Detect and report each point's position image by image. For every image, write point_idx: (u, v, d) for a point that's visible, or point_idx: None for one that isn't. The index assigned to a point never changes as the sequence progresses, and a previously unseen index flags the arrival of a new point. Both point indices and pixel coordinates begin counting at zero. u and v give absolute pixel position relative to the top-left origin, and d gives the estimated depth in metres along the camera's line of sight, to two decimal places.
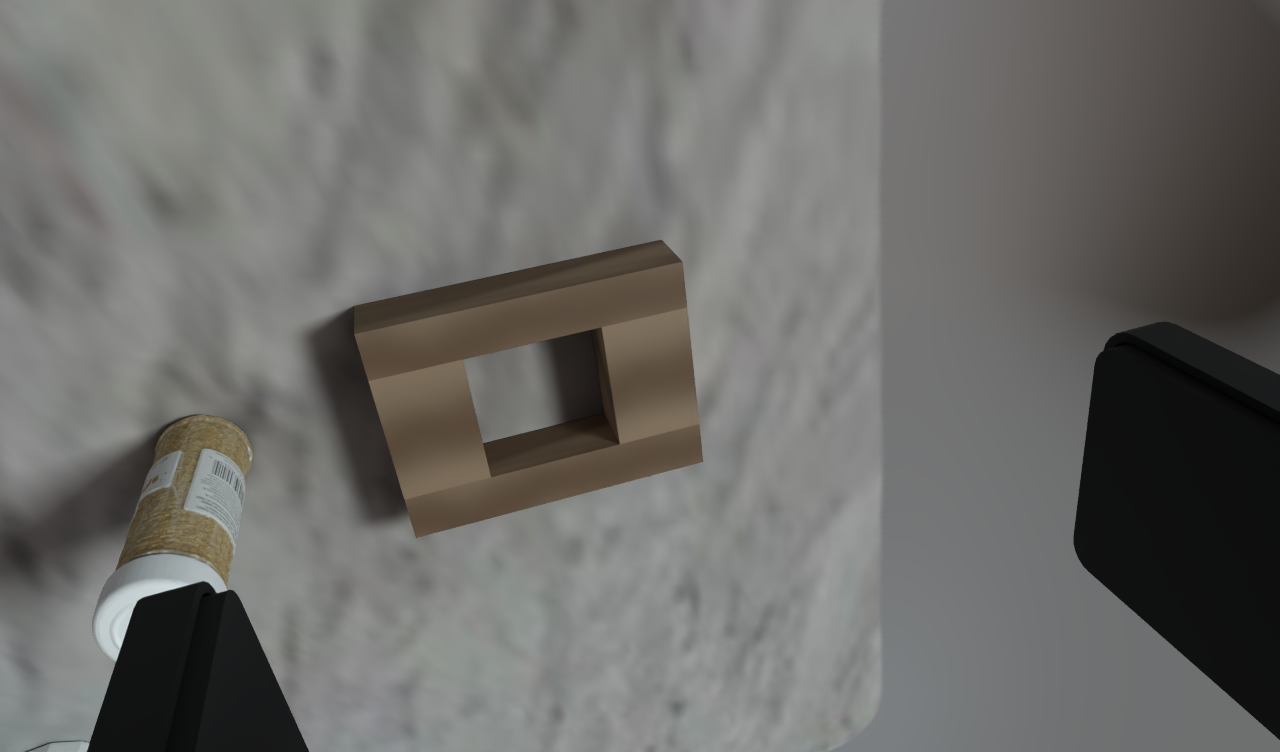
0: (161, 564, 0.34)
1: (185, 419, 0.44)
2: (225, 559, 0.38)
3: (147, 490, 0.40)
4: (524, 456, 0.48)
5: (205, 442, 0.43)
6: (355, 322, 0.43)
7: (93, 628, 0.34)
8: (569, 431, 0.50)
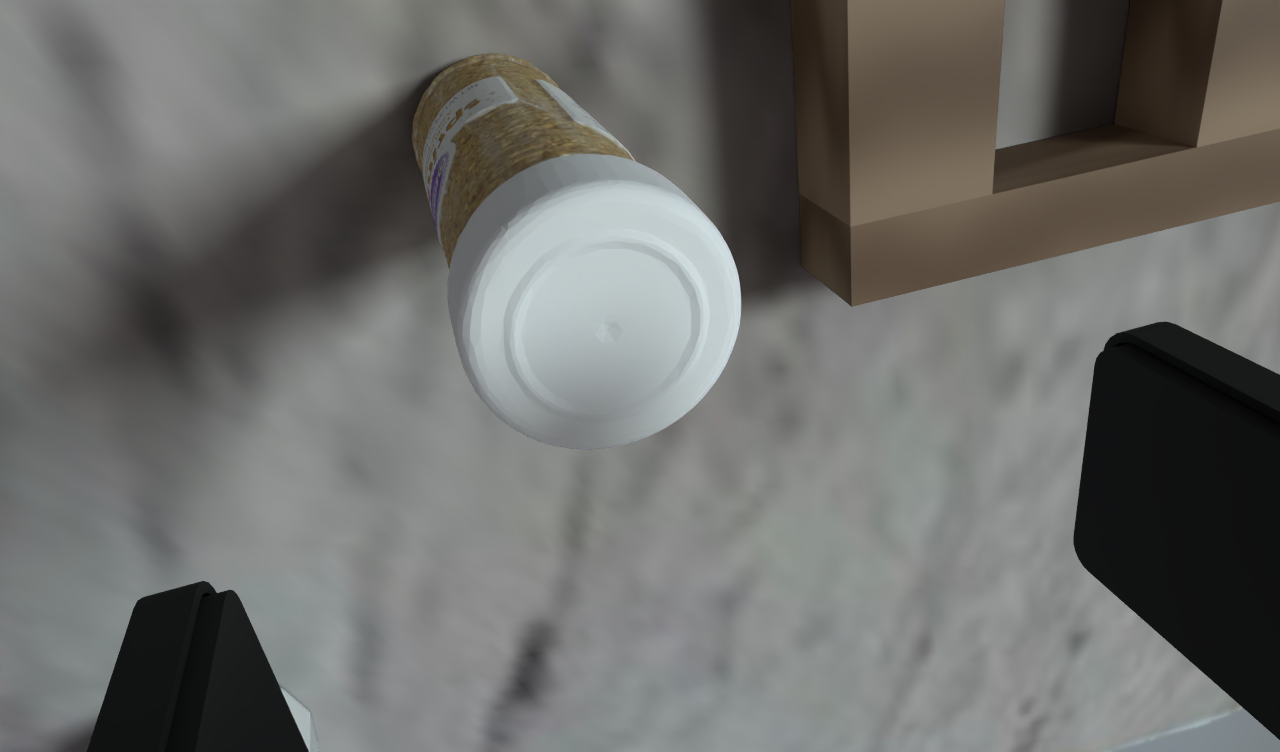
0: (617, 165, 0.14)
1: (473, 57, 0.24)
2: None
3: (464, 118, 0.19)
4: (1027, 170, 0.28)
5: (532, 77, 0.22)
6: None
7: (465, 311, 0.13)
8: (1075, 143, 0.29)
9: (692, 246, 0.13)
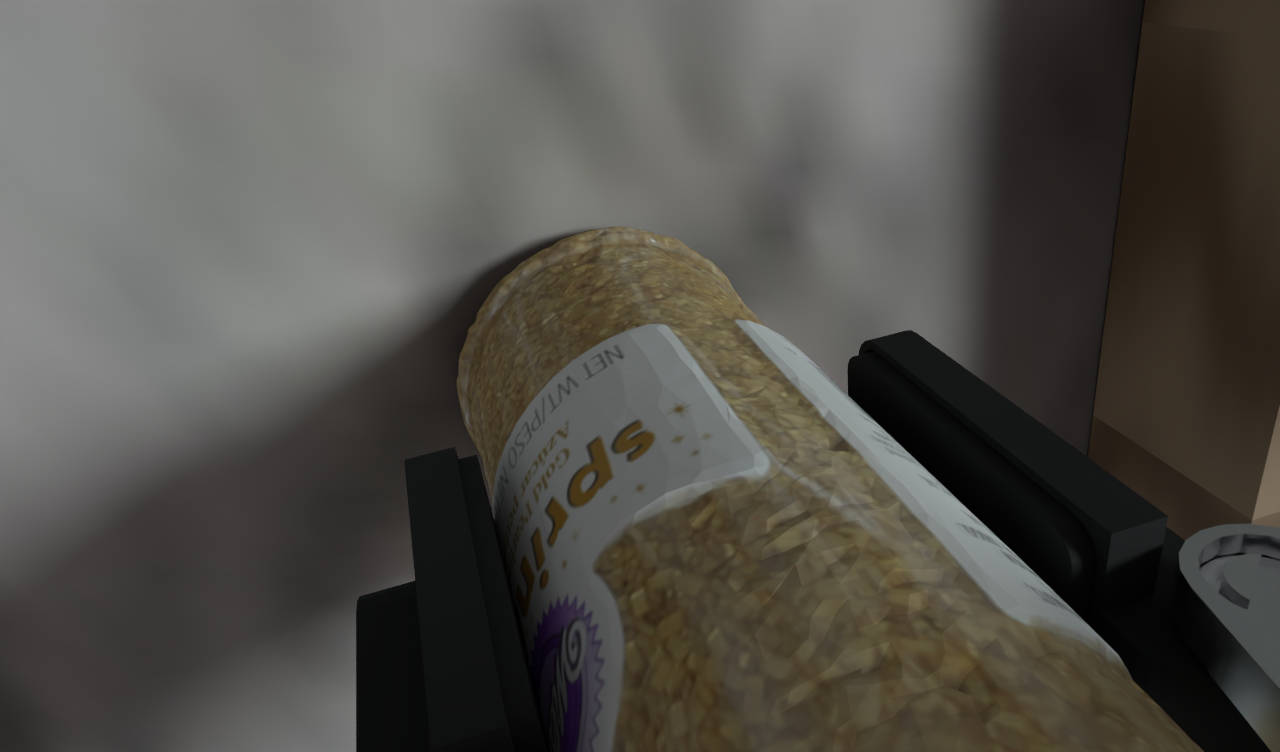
0: None
1: (577, 238, 0.12)
2: None
3: (624, 496, 0.07)
4: None
5: (716, 303, 0.11)
6: None
7: None
8: None
9: None
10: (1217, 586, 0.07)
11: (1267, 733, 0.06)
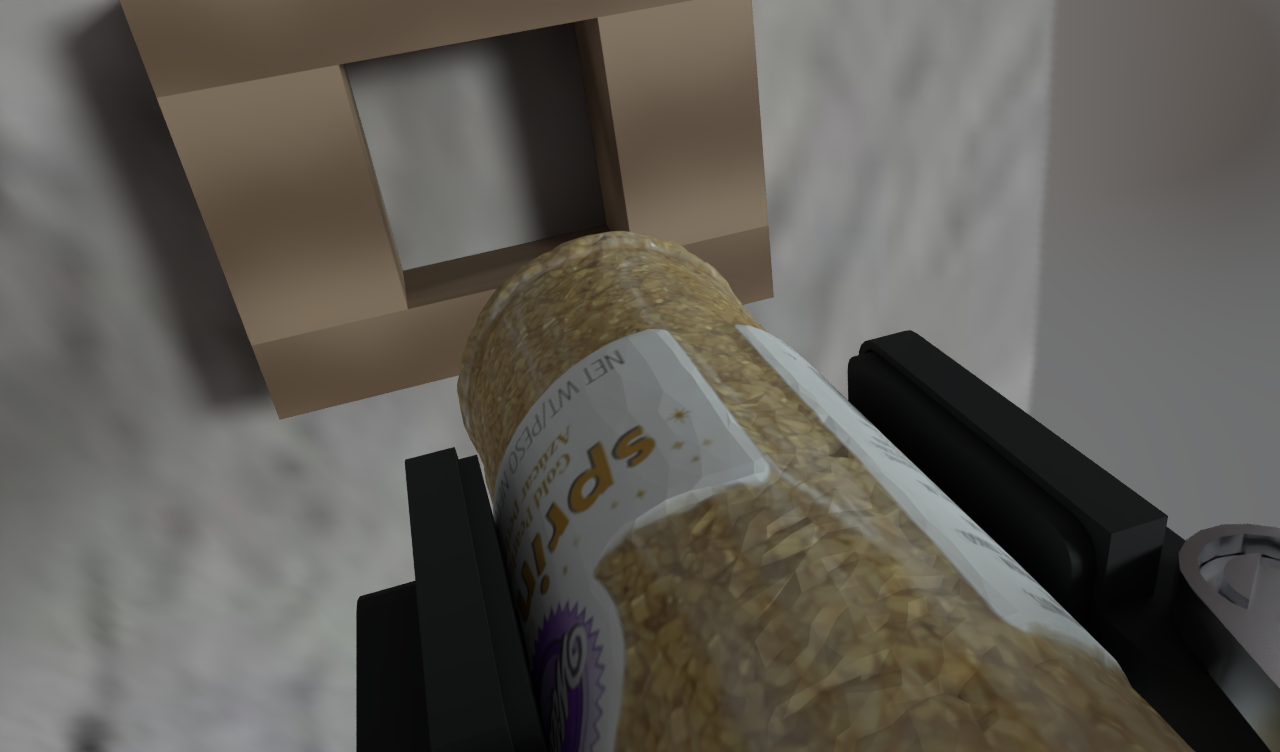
0: None
1: (578, 242, 0.12)
2: None
3: (624, 502, 0.07)
4: (470, 280, 0.28)
5: (716, 308, 0.11)
6: None
7: None
8: (547, 248, 0.30)
9: None
10: (1217, 586, 0.07)
11: (1266, 733, 0.06)
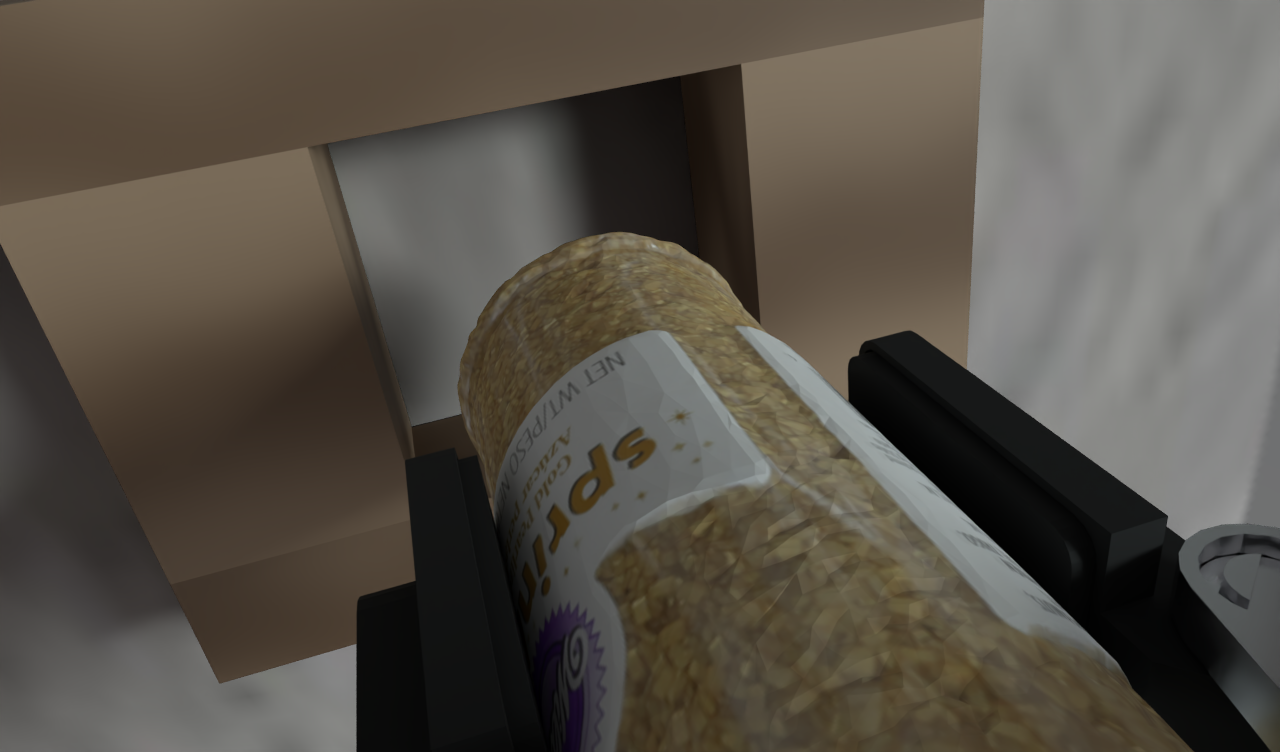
0: None
1: (578, 244, 0.12)
2: None
3: (625, 503, 0.07)
4: None
5: (716, 310, 0.11)
6: None
7: None
8: None
9: None
10: (1217, 586, 0.07)
11: (1267, 733, 0.06)
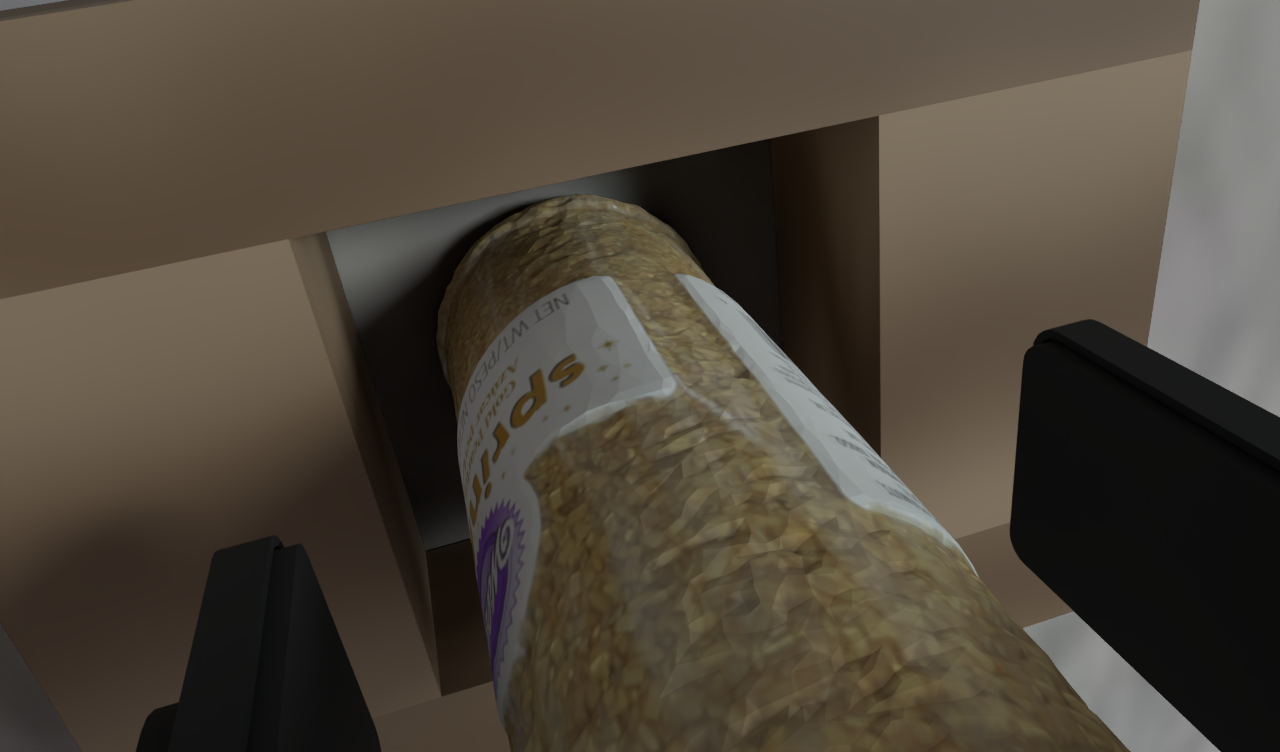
0: None
1: (545, 204, 0.13)
2: None
3: (553, 415, 0.09)
4: None
5: (662, 260, 0.12)
6: None
7: None
8: None
9: None
10: None
11: None
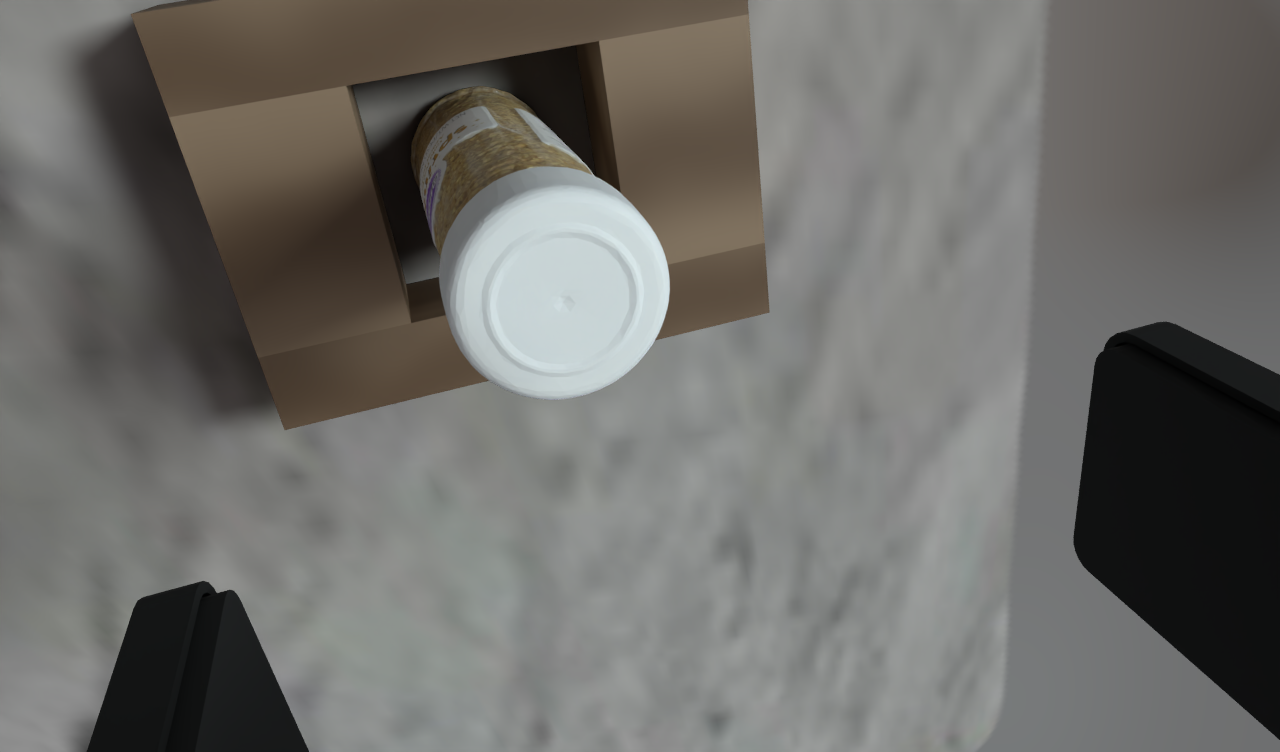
0: (569, 174, 0.18)
1: (462, 89, 0.28)
2: None
3: (454, 140, 0.23)
4: None
5: (511, 106, 0.26)
6: (145, 9, 0.23)
7: (452, 287, 0.17)
8: None
9: (627, 236, 0.17)
10: None
11: None
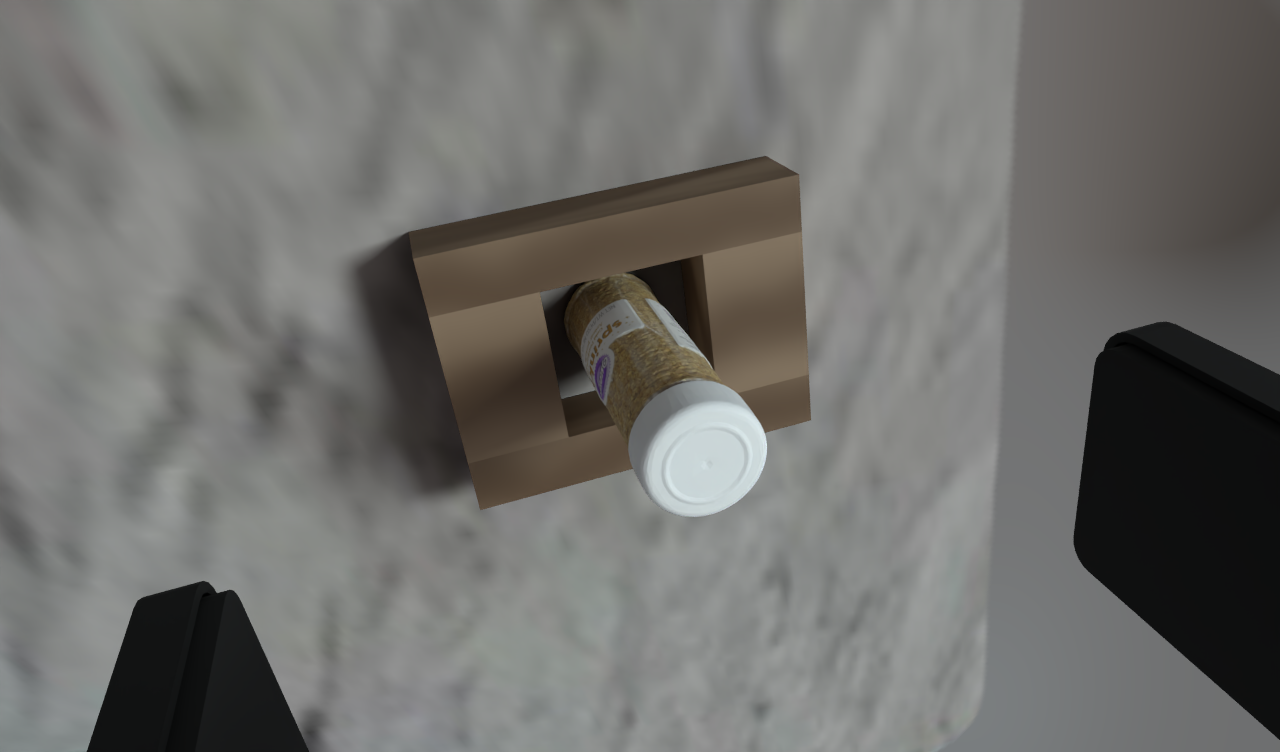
0: (710, 389, 0.30)
1: None
2: None
3: (614, 334, 0.35)
4: (606, 413, 0.41)
5: (640, 294, 0.39)
6: (412, 247, 0.36)
7: (645, 459, 0.30)
8: None
9: (744, 426, 0.30)
10: None
11: None
